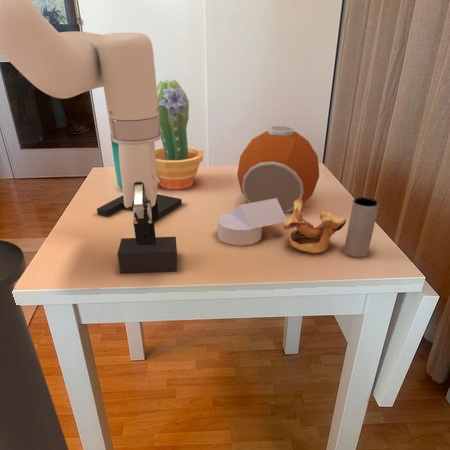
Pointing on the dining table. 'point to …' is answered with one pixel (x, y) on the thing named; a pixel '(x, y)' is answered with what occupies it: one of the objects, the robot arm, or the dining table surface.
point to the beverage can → (117, 162)
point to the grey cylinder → (361, 226)
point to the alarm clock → (278, 168)
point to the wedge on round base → (249, 222)
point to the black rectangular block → (147, 256)
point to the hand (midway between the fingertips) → (148, 231)
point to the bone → (312, 229)
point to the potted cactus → (175, 139)
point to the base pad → (164, 206)
